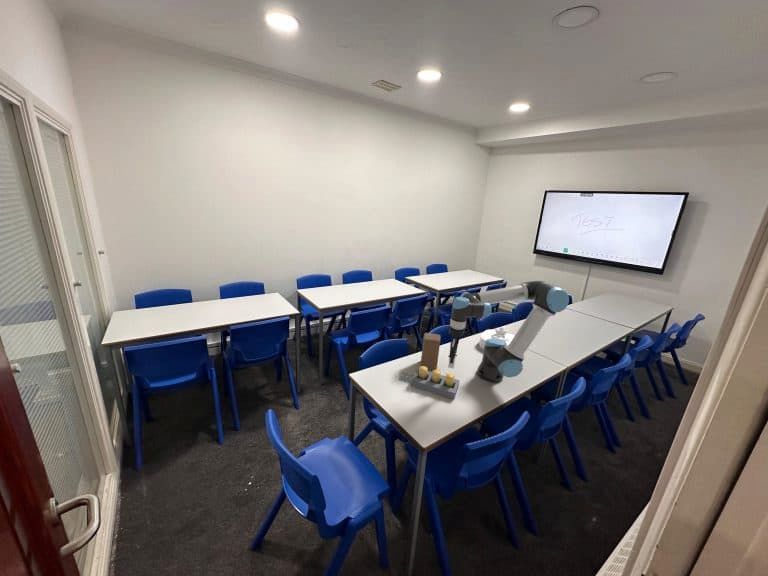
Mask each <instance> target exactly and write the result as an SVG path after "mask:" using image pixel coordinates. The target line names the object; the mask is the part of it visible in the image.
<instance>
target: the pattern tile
mask: <svg viewBox="0 0 768 576" xmlns="http://www.w3.org/2000/svg"><path fill="white" fill-rule="evenodd" d="M414 375H415V374H414ZM414 375H413V374H411V373H407V372H403V373H402V374H401V376H399V380H400V381H403V382H407V383H410V384H411V380H412V378H413V377H414Z"/></svg>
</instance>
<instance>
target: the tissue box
mask: <svg viewBox="0 0 768 576" xmlns="http://www.w3.org/2000/svg"><path fill="white" fill-rule="evenodd" d="M515 335H516V334H511V333H509V329H506V327H505V326H501V327H500V328H498V327H495V328H494V329H486V330H484V332H482V333H481V334H480V339H479V343H478V344H479V345H478V346H479V347H480V349H482V350H484V346H485V342H486V340H487V339H491V338H494V339H500V340H503V341H505V342H506V343H507V345H509V344H510V342H511V341H512V339H513V338H514V336H515Z"/></svg>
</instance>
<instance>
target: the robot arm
mask: <svg viewBox="0 0 768 576" xmlns="http://www.w3.org/2000/svg"><path fill="white" fill-rule="evenodd" d="M515 300H523V301H526V300H531V301H533V302H532V307H533V308H532V309H531V311H530V312H529V314H528V315H527V316H526V318H525V320H524V321H523V322H522V324H521V326H520V327H519V329H518V330H517V332H516V333H515V334H514V335H515V336H514V338H513V339H512V341H511V342H510V344H509V345H507V343H506V342H505V341H503V340H500V339H494V338H491V339H487V340H486V342H485V346H484V349H483V353H482V360H481V361H480V364H479V365H478V367H477V370H476V374H477V375H478V377H479V378H480V379H482V380H485V381H487V382H491V383H499V382H502V381H503V380H504V377H505V378H514V377H517V376H519V375H520V374H521V373H522V372H523V370H524V365H523V361H524V360H525V355H524V354H525V353H526V351H527V350H528V348H529V347H530V345H532V343H533V341H534V340H535V338H536V337H537V336H538V334H539V332H540V331H541V329H543V327H544V325H545V324H546V322H547V321H548V319H549V318H550V317H554V316H555V315H556V314H557V313H562V312H563V311H565V309H566V308H567V307H569V306H568V305H569V303H570V302H569V301H570V297H569V294H568V293H567V291H566V290H565V289H563V288H561V287H559V286H556V285H554V284H551V283H549V282H547V281H545V280H532V281H526V282H521V283H519V284H518V285H512V286H508V287H501V288H497V289H490V290H485V291H481V292H475V293H473V292H472V293H471V292H468V291H464V292H462V293H461V294H460V296H456V297H455V298H454V299H453V302H452V308H451V316H450V319H449V322H450V323H449V329H448V333H449V334H450V335H451V338H450V345H449V346H450V347H449V354H448V355H447V356H448V364H447V365H448V366H447V367H448V368H449V369H454V368H455V363H456V362H455V361H456V357H457V356H458V354H457V351H458V346H459V342H460V339H461V337H463V336H464V334H465V328H466V325H467V318H488V317H490V316H491V315H492V309H493V308H492V305H494V304H498V303H505V302H511V301H515Z"/></svg>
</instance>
